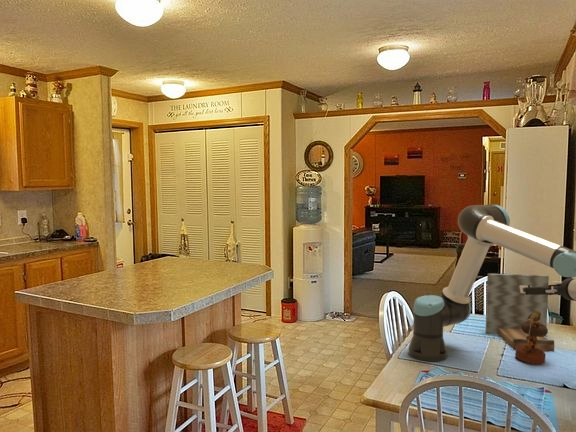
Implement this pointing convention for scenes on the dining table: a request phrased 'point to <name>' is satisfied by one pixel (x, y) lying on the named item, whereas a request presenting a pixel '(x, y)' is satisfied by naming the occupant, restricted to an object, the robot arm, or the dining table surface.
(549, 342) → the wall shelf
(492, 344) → the dining table surface
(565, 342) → the dining table surface
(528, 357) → the brown curved piece
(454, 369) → the dining table surface
